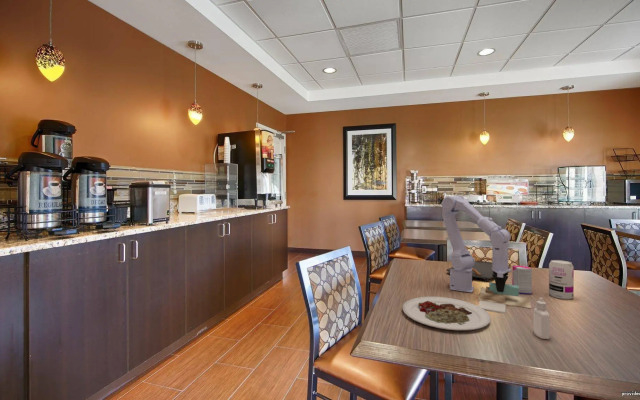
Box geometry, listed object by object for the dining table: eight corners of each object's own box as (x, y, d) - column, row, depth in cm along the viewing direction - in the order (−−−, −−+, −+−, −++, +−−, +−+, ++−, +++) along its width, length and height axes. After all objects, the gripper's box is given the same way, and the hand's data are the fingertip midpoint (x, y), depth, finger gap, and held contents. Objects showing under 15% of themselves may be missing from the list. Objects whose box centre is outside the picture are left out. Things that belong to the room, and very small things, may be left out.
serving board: (488, 284, 146) (488, 272, 146) (442, 275, 164) (442, 264, 164) (513, 270, 172) (513, 259, 172) (471, 263, 189) (471, 254, 189)
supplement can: (569, 294, 130) (569, 260, 129) (576, 301, 122) (576, 265, 122) (546, 292, 133) (546, 259, 133) (552, 298, 125) (552, 263, 125)
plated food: (491, 343, 91) (491, 332, 90) (393, 323, 105) (393, 313, 105) (490, 308, 117) (490, 300, 117) (412, 296, 131) (411, 289, 131)
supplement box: (532, 294, 131) (532, 268, 130) (517, 293, 132) (517, 268, 131) (526, 290, 136) (526, 265, 136) (511, 289, 137) (511, 265, 137)
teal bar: (489, 292, 126) (489, 284, 126) (489, 290, 129) (489, 282, 129) (518, 296, 121) (518, 288, 120) (518, 294, 124) (518, 285, 124)
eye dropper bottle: (531, 336, 93) (531, 298, 93) (533, 330, 98) (533, 294, 97) (549, 341, 91) (549, 302, 90) (550, 334, 95) (550, 297, 94)
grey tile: (478, 309, 116) (478, 307, 116) (479, 301, 123) (479, 300, 123) (505, 313, 111) (505, 312, 111) (505, 305, 119) (505, 304, 119)
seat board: (478, 300, 124) (478, 291, 124) (480, 292, 135) (480, 283, 135) (531, 308, 115) (531, 299, 115) (528, 299, 125) (528, 290, 125)
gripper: (512, 262, 117) (512, 297, 117) (511, 255, 129) (511, 286, 129) (491, 260, 120) (491, 294, 121) (492, 254, 133) (492, 284, 133)
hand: (500, 290), depth 125 cm, fingers closed on teal bar, 4 cm apart
